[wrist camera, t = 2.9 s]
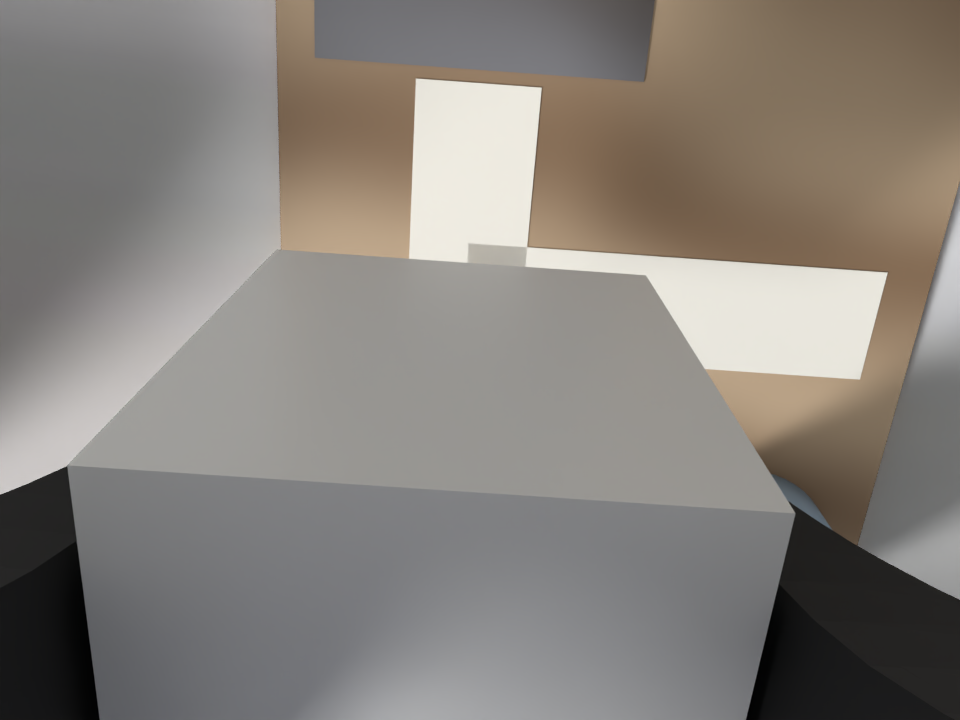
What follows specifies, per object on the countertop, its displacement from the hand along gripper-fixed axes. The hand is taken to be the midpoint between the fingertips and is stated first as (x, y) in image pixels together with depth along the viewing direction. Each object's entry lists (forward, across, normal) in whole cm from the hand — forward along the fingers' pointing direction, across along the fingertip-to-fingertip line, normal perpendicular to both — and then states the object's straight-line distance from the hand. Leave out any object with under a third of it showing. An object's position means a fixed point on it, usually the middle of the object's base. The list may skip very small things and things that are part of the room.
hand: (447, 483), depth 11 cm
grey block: (+1, 0, 0) cm, 1 cm away
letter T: (+8, -4, 0) cm, 9 cm away
